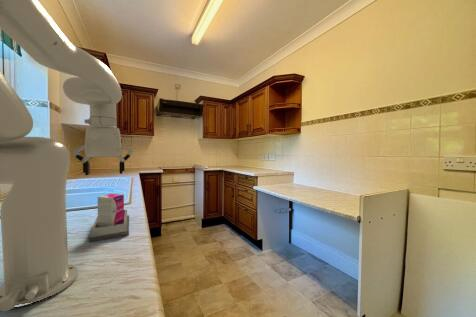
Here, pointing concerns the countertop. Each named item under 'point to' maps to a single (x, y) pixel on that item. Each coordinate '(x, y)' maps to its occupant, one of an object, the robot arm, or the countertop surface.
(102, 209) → the supplement box
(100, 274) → the countertop surface
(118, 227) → the grey open tray
